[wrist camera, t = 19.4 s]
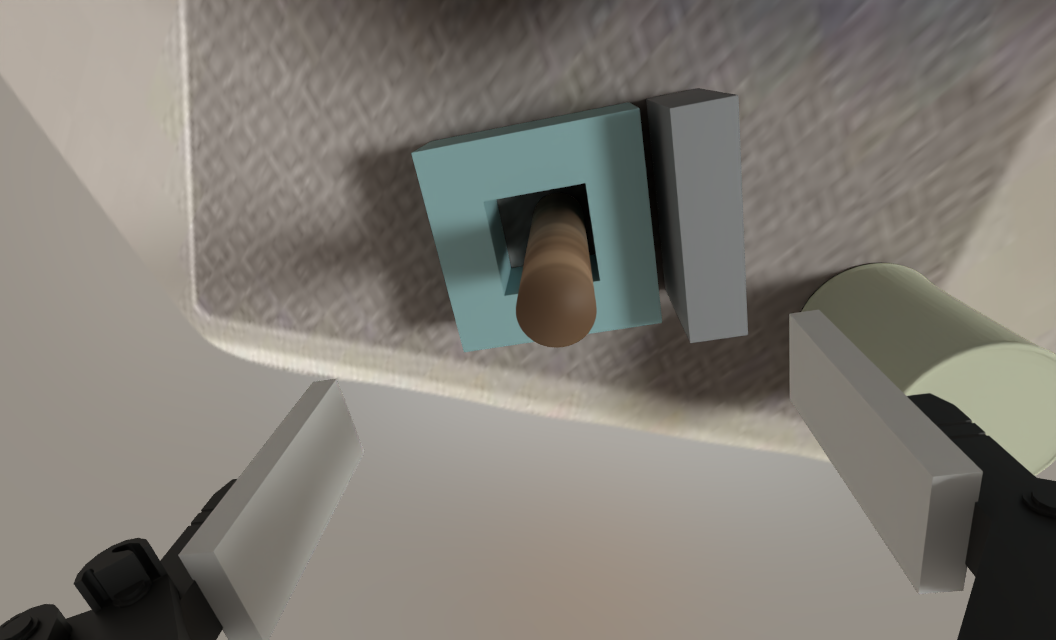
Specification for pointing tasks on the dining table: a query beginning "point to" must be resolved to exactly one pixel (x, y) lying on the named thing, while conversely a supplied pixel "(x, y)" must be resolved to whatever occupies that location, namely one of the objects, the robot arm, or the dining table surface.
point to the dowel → (557, 275)
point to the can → (948, 354)
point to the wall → (700, 209)
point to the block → (531, 166)
